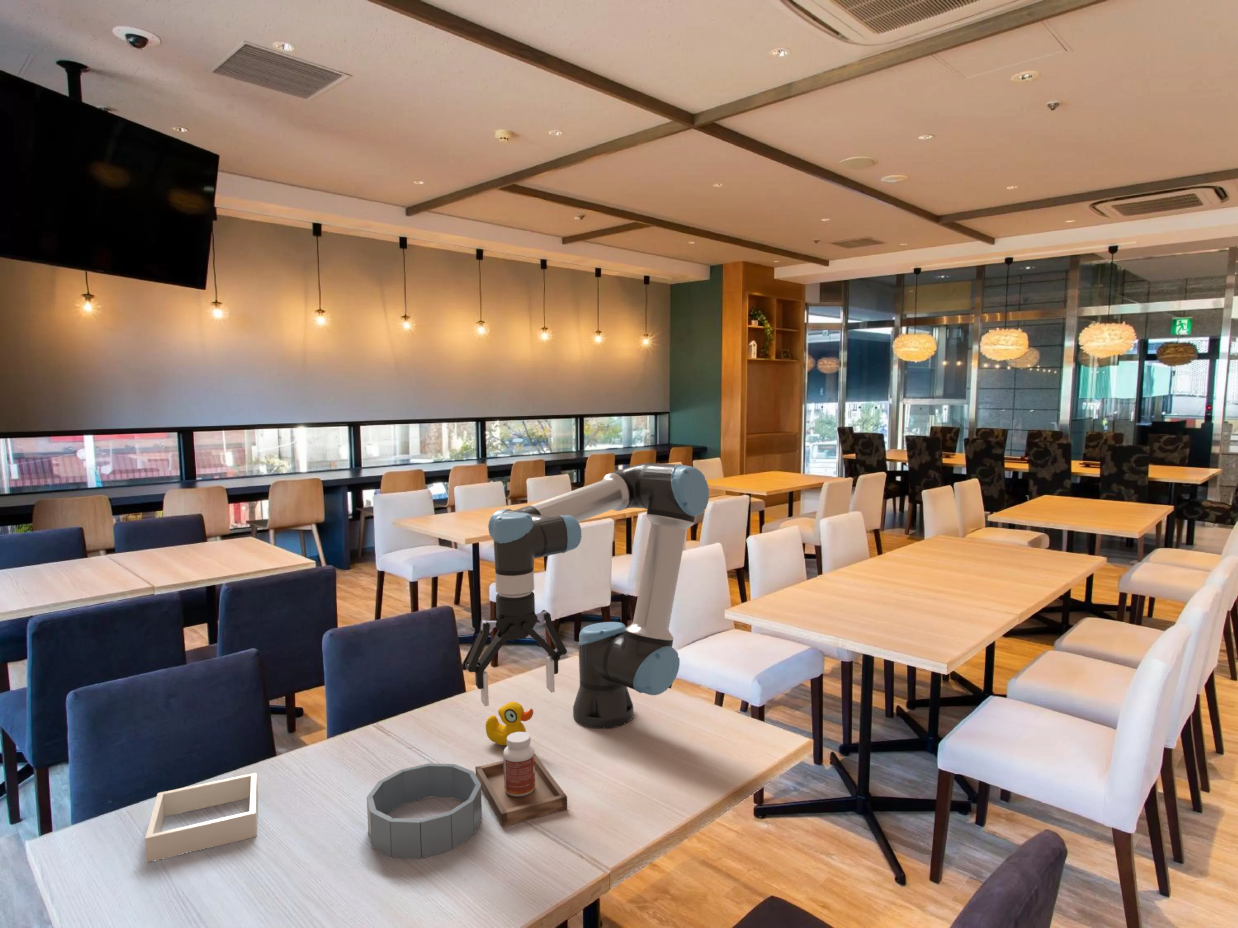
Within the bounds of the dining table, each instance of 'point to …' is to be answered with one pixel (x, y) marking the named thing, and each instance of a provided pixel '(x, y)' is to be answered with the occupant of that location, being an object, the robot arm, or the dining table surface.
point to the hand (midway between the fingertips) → (518, 696)
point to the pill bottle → (519, 765)
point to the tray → (526, 807)
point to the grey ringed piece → (432, 831)
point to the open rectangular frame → (204, 832)
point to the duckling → (507, 722)
